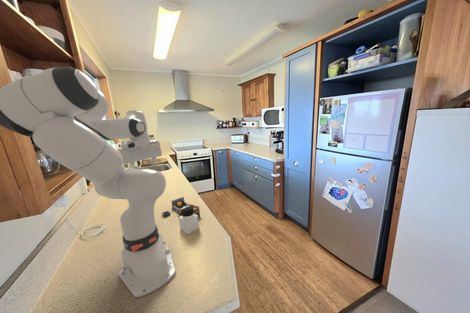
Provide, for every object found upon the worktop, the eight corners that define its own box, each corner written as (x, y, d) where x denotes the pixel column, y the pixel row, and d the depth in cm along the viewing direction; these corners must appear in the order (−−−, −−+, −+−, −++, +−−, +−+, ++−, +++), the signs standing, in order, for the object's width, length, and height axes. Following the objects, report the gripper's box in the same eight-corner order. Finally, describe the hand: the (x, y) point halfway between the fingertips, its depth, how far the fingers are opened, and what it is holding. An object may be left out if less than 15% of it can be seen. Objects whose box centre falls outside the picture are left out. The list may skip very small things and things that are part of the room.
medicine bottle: (199, 228, 92) (197, 206, 89) (187, 235, 87) (184, 212, 84) (191, 223, 97) (189, 202, 94) (180, 229, 91) (177, 208, 89)
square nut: (170, 215, 106) (170, 212, 106) (164, 217, 104) (164, 215, 104) (168, 212, 109) (167, 210, 109) (162, 215, 107) (162, 212, 106)
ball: (179, 207, 116) (181, 207, 113) (175, 206, 115) (176, 205, 112) (181, 203, 117) (183, 202, 115) (177, 201, 116) (178, 201, 114)
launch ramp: (200, 216, 103) (199, 206, 102) (187, 221, 98) (186, 212, 97) (190, 208, 112) (189, 200, 111) (178, 213, 107) (177, 204, 106)
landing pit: (190, 208, 112) (189, 201, 111) (178, 213, 107) (177, 205, 106) (183, 203, 120) (182, 196, 119) (172, 207, 115) (171, 200, 114)
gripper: (156, 139, 103) (159, 162, 106) (116, 145, 87) (122, 171, 90) (161, 140, 99) (165, 163, 102) (121, 145, 84) (127, 173, 87)
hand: (144, 167), depth 96 cm, fingers open, 8 cm apart
